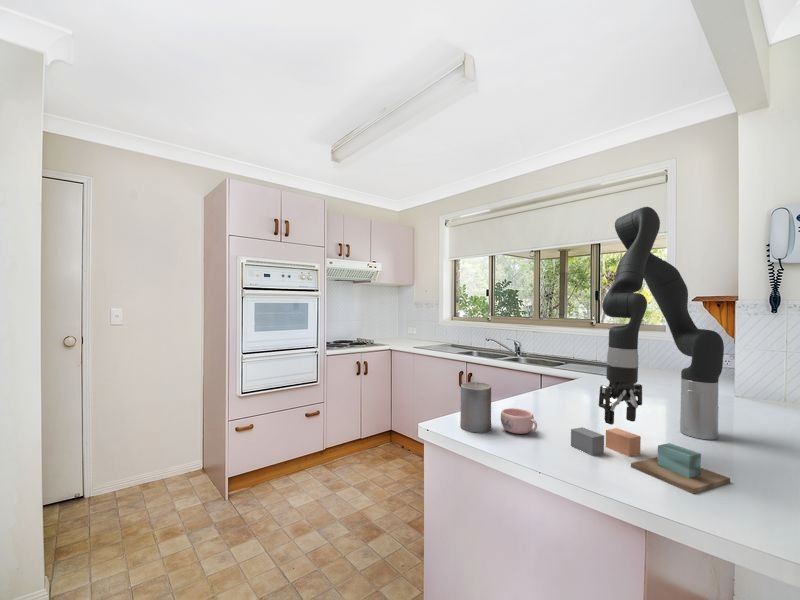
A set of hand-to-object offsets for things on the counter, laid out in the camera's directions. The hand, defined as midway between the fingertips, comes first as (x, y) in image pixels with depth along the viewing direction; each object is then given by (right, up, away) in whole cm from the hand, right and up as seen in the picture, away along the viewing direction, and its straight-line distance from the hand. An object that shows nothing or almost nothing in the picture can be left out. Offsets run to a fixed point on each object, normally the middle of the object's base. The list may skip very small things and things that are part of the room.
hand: (620, 422), depth 105 cm
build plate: (+5, -8, -15) cm, 17 cm away
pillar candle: (-37, -7, +16) cm, 41 cm away
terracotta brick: (0, -8, -1) cm, 8 cm away
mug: (-24, -8, +13) cm, 28 cm away
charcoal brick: (-10, -8, -1) cm, 12 cm away
